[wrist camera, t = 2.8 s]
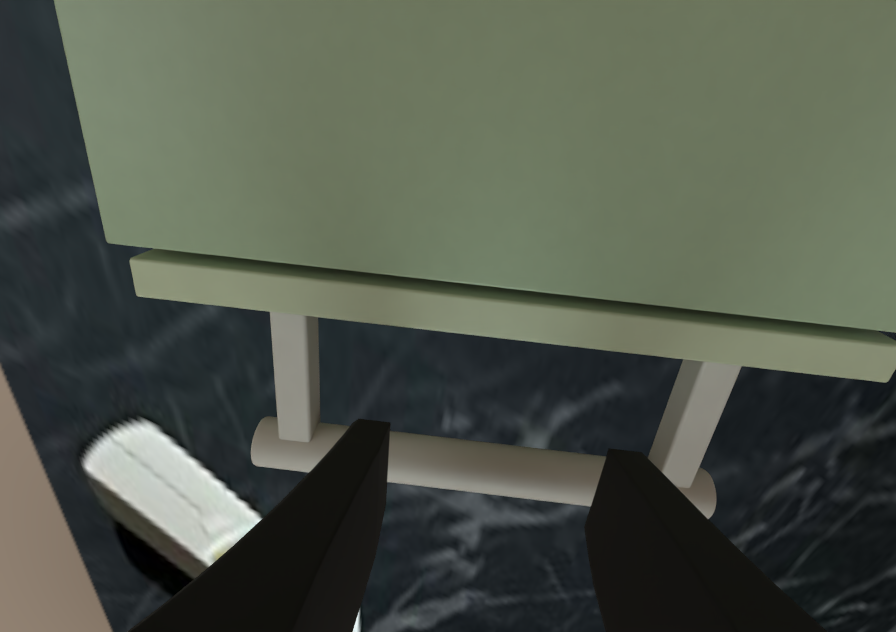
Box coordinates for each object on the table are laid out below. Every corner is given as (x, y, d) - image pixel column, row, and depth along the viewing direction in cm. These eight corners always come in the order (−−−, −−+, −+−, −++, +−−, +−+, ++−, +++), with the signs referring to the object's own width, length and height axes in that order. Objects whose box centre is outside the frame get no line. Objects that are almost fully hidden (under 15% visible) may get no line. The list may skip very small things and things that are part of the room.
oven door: (653, 364, 18) (790, 552, 10) (302, 323, 19) (171, 476, 11) (696, 235, 16) (910, 347, 8) (297, 190, 16) (127, 258, 8)
